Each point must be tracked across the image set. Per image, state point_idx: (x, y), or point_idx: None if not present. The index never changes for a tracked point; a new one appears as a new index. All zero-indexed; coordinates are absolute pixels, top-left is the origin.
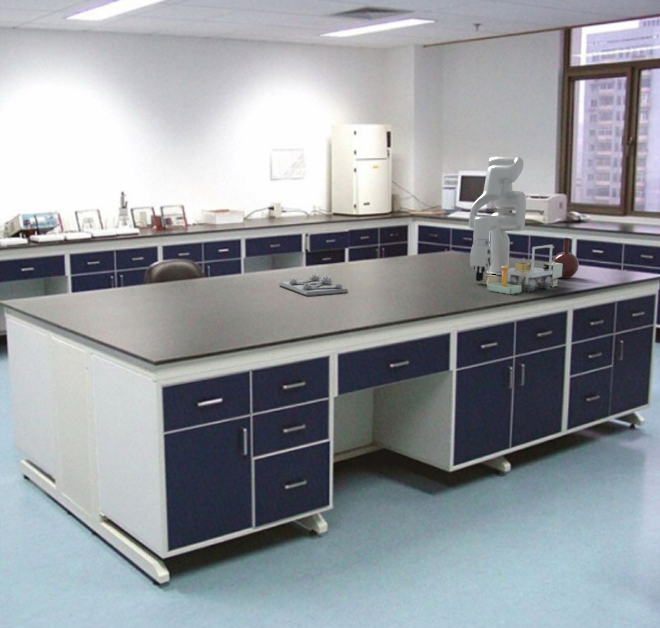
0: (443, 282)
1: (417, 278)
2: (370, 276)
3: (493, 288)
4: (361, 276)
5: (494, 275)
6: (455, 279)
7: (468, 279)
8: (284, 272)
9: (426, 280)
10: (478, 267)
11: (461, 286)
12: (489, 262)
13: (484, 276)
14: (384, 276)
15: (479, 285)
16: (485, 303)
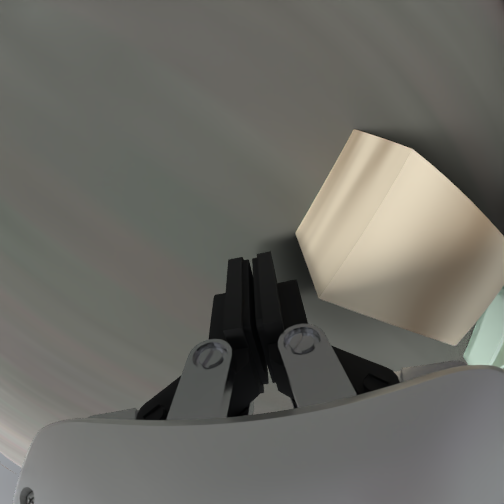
0: (123, 408)
1: (21, 402)
2: (16, 436)
3: (500, 353)
4: (21, 443)
5: (448, 206)
6: (21, 304)
7: (20, 217)
8: (11, 458)
9: (63, 414)
10: (195, 414)
11: (287, 409)
12: (484, 441)
13: (319, 285)
14: (8, 423)
15: (334, 316)
16: None
